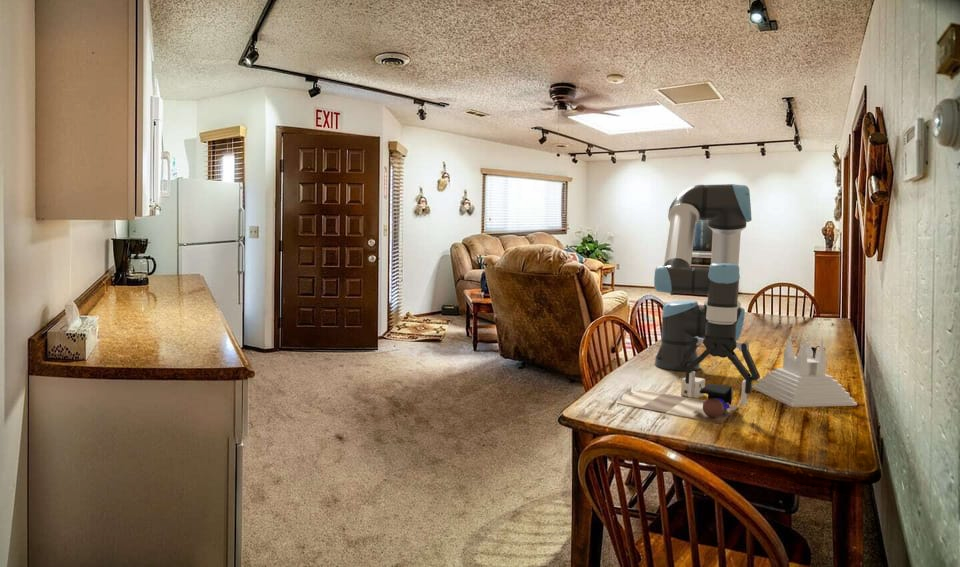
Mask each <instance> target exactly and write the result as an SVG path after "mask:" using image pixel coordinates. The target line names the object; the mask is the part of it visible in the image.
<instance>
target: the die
mask: <svg viewBox="0 0 960 567" xmlns="http://www.w3.org/2000/svg"><path fill="white" fill-rule="evenodd" d="M685 379H686V376H685V377H683V378H682V379H681V386H680V387H681V388H680V396H682V395H684V396H683V397H687V396H688V390H689V384H687V383H686V382H685ZM705 386H706V379H705V378H703V377H696V376H695V385H694V395H693V396H692V397H694V398H693V399H697V398H698V399H700V398H702V397H704V396H705V394H704V393H700V390H701V389H703V388H704V387H705ZM703 395H704V396H703ZM701 396H702V397H701ZM692 397H691V398H692ZM699 397H700V398H699Z"/></svg>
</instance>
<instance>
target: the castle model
mask: <svg viewBox="0 0 960 567" xmlns="http://www.w3.org/2000/svg"><path fill="white" fill-rule="evenodd" d="M806 338H807V339H806V340H807V341H806V342H805V341H804V340H805V338H802V341H801V346H799V347H800V350H799V349H798V351H799V353H798V352H797V354H796V355H795V351H794V346H793V342H792V335H791V334H789V337H788V342H786V345H785V348H784V349H783V357H782V358H783V359H782V360H783V363H782V368H781V367H780V368H779V367H777V368H775V370H770V371H769V373H766V374H765V375H763V376H762V378H759V379H758V382H755V384H754V385H752V388H751V389H753V390H755V391H758V392H759V393H761V394H764V395H766V396H768V397H770V398H772V399H774V400H776V401H778V402H780V403H782V404H784V405H787V406H789V407H791V408H801V407H802V408H804V407H805V408H807V407H808V408H809V407H810V408H811V407H813V408H814V407H844V406H845V407H846V406H849V407H851V406H855V407H856V406H858V402H855V401H854V398H853V397H851V396H850V394H851V393H850V392H847V391H846V388H844V387H843V384H840V383H839V381H838V380H837V379H835V378H834V376H832V375H829V374H827V373H826V370H827V369H826V368H827V358H828V357H827V356H828V355H827V353H826V350H825V349H826V347H825V346H824V338H823V337H822V338H821V341H820V345H818V346H819V347H818V349H817V352H816V355H815V358H813V351H812V349H811V348H812V347H813V346H812V342H810V339H811V338H810V334H808V335H807V337H806Z"/></svg>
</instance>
